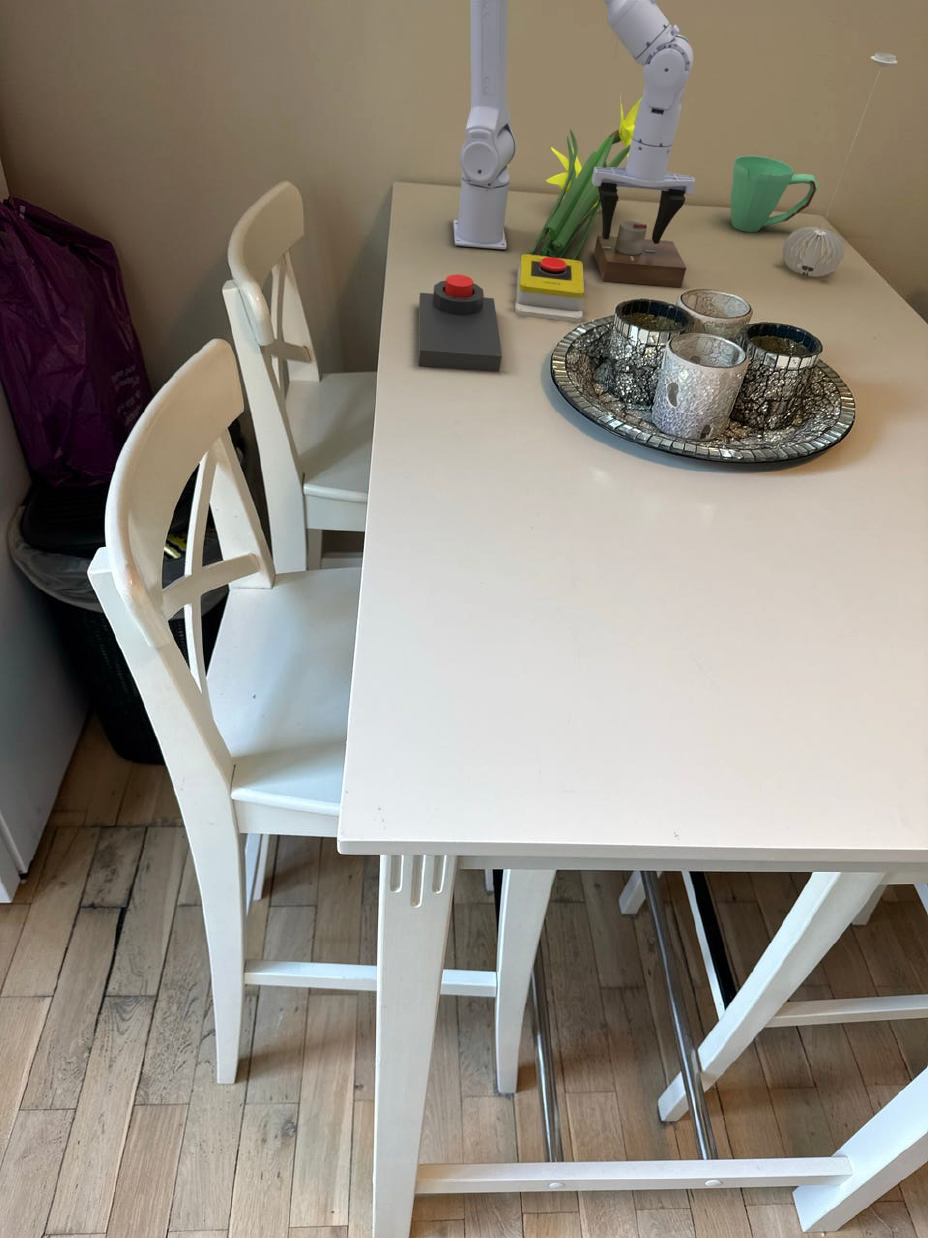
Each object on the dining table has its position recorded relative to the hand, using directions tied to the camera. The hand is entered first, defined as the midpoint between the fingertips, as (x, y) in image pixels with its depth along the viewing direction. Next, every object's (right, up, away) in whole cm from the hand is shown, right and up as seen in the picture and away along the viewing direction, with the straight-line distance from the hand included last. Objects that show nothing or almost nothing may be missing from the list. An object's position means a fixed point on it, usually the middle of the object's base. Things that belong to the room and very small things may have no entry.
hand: (630, 239), depth 132 cm
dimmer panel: (+2, -3, +3) cm, 5 cm away
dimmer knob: (0, -1, +1) cm, 2 cm away
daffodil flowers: (-6, +6, +12) cm, 15 cm away
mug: (+27, +11, +22) cm, 36 cm away
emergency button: (-13, -11, -6) cm, 18 cm away
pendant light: (+30, -1, +10) cm, 32 cm away
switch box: (-26, -21, -18) cm, 38 cm away
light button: (-26, -14, -17) cm, 34 cm away
